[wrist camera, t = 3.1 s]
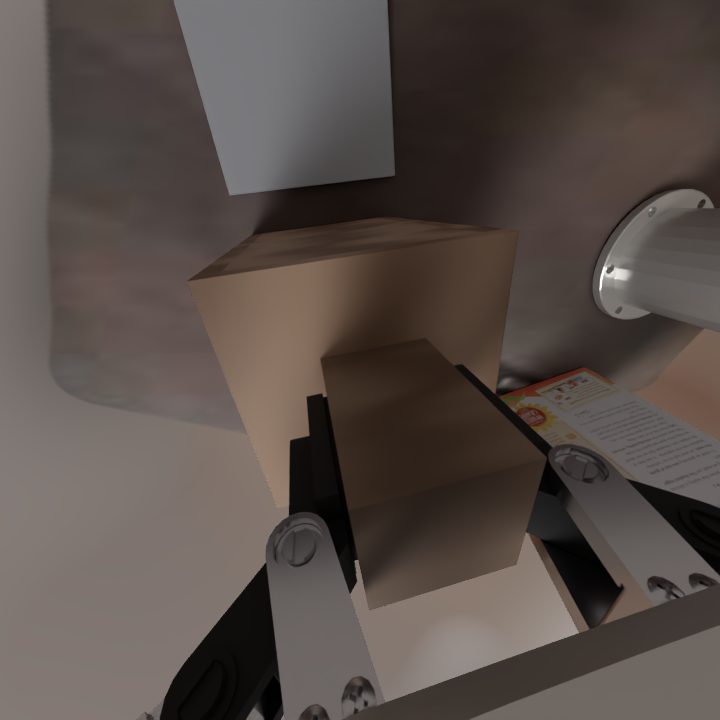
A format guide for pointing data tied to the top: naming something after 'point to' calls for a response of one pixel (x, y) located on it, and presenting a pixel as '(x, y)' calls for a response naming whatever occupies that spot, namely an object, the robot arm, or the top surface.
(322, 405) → the robot arm
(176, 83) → the top surface
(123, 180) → the top surface
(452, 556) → the walnut cover
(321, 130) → the slate mat
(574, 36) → the top surface
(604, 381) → the cracker box
